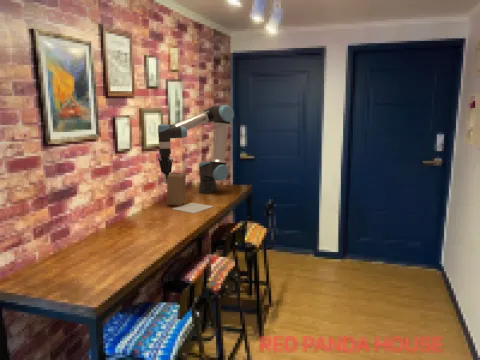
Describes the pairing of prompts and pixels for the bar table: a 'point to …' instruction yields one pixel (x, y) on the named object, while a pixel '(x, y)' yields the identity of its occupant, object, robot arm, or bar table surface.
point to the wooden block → (176, 188)
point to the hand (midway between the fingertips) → (166, 183)
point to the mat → (192, 208)
